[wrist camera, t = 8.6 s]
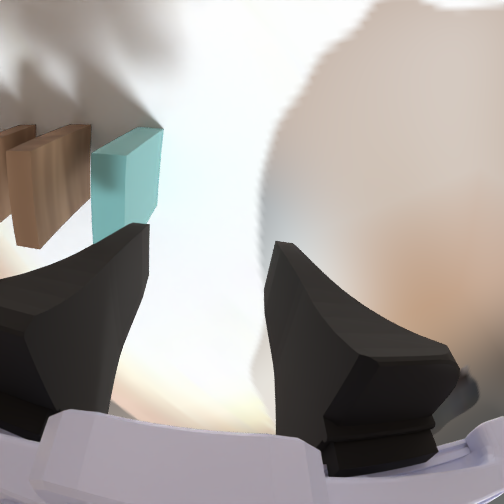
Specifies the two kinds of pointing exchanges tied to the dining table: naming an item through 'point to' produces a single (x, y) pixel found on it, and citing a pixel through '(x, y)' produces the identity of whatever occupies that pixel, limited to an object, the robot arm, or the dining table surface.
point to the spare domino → (125, 181)
